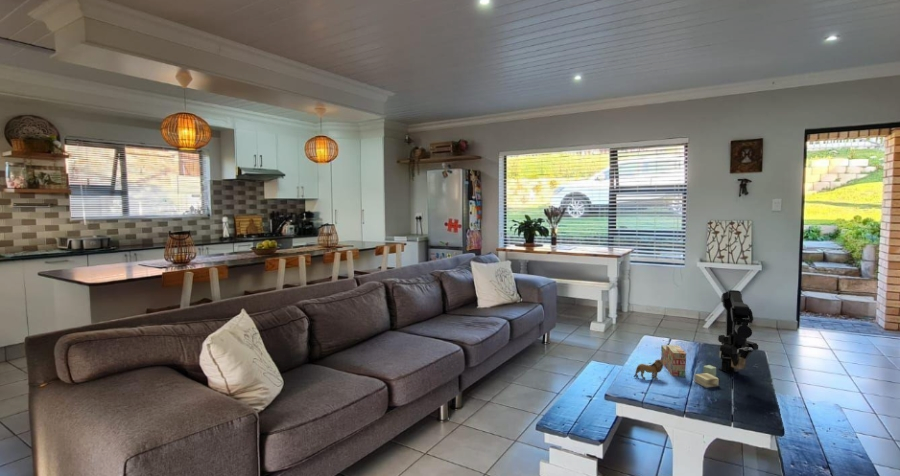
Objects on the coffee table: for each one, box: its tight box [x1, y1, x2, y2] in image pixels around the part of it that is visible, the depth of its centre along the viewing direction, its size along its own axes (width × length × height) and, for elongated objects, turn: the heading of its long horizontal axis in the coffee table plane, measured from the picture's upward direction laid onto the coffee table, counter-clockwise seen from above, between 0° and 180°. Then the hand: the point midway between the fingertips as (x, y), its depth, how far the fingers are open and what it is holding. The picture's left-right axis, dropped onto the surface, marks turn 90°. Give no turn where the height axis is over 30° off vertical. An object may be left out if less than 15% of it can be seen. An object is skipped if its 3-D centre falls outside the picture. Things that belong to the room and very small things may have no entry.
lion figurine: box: [633, 359, 664, 380], centre depth 224 cm, size 15×5×9 cm, turn 93°
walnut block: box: [731, 357, 747, 371], centre depth 212 cm, size 4×4×4 cm
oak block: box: [694, 372, 720, 388], centre depth 216 cm, size 7×7×4 cm
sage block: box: [702, 364, 717, 377], centre depth 227 cm, size 4×4×4 cm
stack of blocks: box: [660, 344, 687, 378], centre depth 236 cm, size 21×6×12 cm, turn 169°
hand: (738, 365), depth 212 cm, fingers closed on walnut block, 4 cm apart
